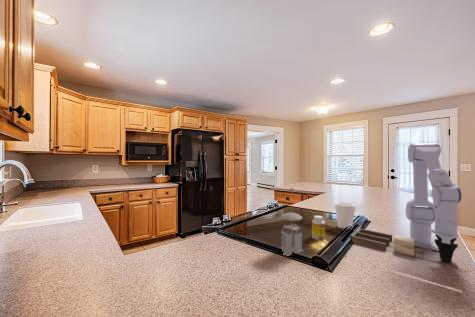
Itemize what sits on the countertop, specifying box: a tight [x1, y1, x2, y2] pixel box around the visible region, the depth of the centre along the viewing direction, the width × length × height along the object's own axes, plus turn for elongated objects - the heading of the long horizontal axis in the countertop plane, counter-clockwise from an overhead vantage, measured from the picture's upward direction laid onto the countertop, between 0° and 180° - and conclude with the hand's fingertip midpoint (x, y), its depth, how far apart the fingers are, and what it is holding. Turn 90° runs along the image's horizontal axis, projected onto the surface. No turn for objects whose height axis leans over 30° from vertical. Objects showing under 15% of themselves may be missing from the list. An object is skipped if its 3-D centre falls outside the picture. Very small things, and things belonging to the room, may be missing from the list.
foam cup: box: [334, 202, 356, 229], centre depth 113 cm, size 10×9×13 cm
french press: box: [280, 187, 303, 257], centre depth 83 cm, size 10×12×25 cm
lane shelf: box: [349, 227, 425, 261], centre depth 90 cm, size 15×24×3 cm, turn 46°
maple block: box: [393, 235, 453, 263], centre depth 80 cm, size 4×16×5 cm, turn 46°
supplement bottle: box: [311, 215, 326, 241], centre depth 98 cm, size 6×6×10 cm
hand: (445, 258), depth 75 cm, fingers open, 7 cm apart
